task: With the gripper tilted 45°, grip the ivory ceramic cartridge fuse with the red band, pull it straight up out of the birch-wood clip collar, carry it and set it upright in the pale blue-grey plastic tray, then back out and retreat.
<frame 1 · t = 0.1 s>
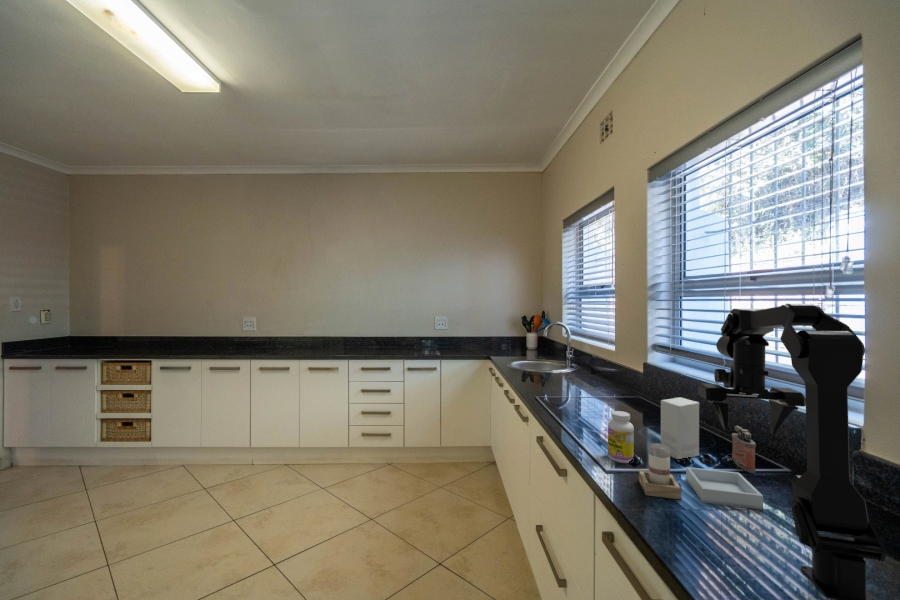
hand: (748, 431, 86), 15 cm above the worktop, tool pointing down, fingers open, 9 cm apart
skincare box: (679, 455, 109), on the worktop
lighter: (743, 467, 102), on the worktop
supplement bottle: (620, 459, 106), on the worktop
tray: (721, 493, 87), on the worktop
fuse: (659, 468, 89), in the holder
holder: (659, 489, 89), on the worktop
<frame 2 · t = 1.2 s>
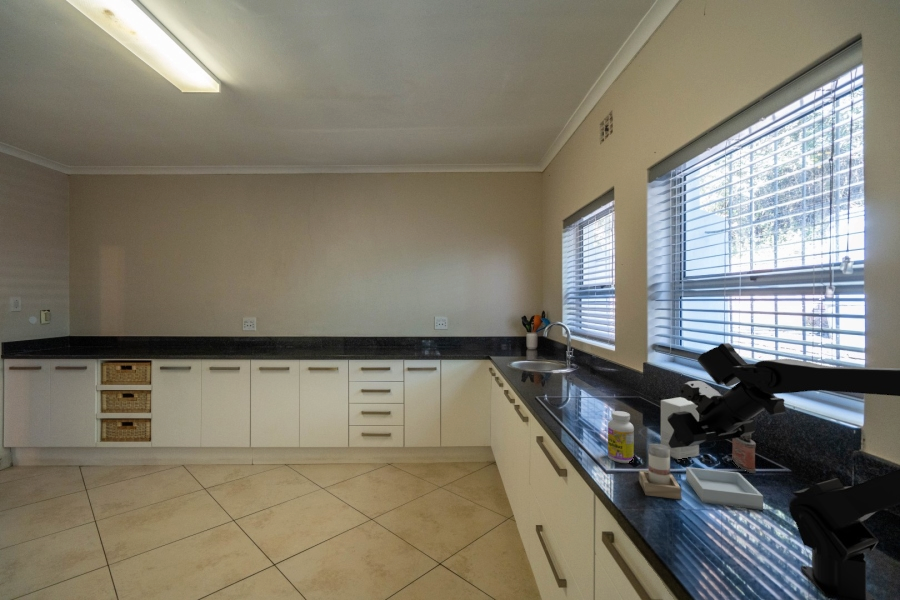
hand: (685, 443, 83), 13 cm above the worktop, tool tilted 45°, fingers open, 9 cm apart
nothing on the worktop moved.
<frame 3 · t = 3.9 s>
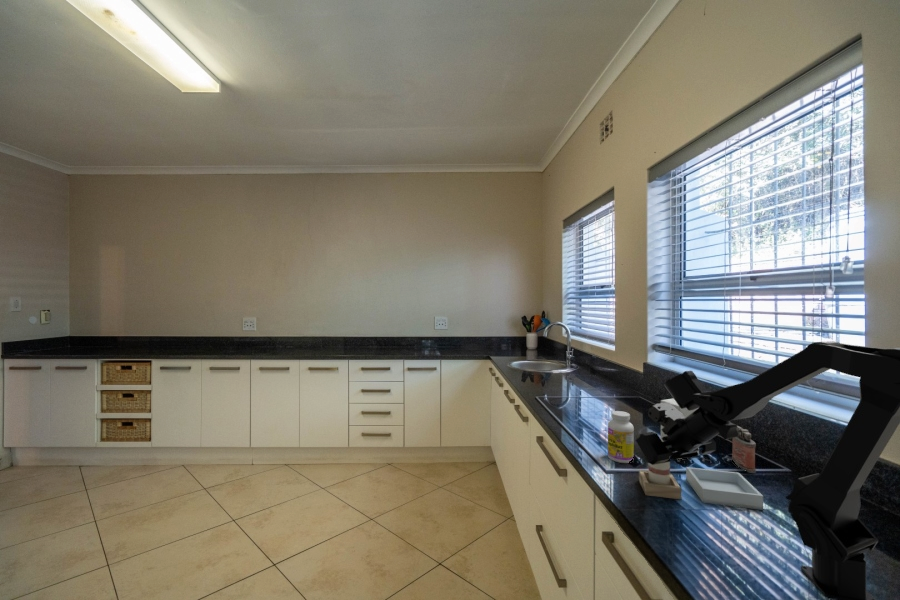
hand: (654, 459, 90), 7 cm above the worktop, tool tilted 45°, fingers closed on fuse, 4 cm apart
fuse: (659, 468, 89), in the holder, touching gripper
everything else where it was.
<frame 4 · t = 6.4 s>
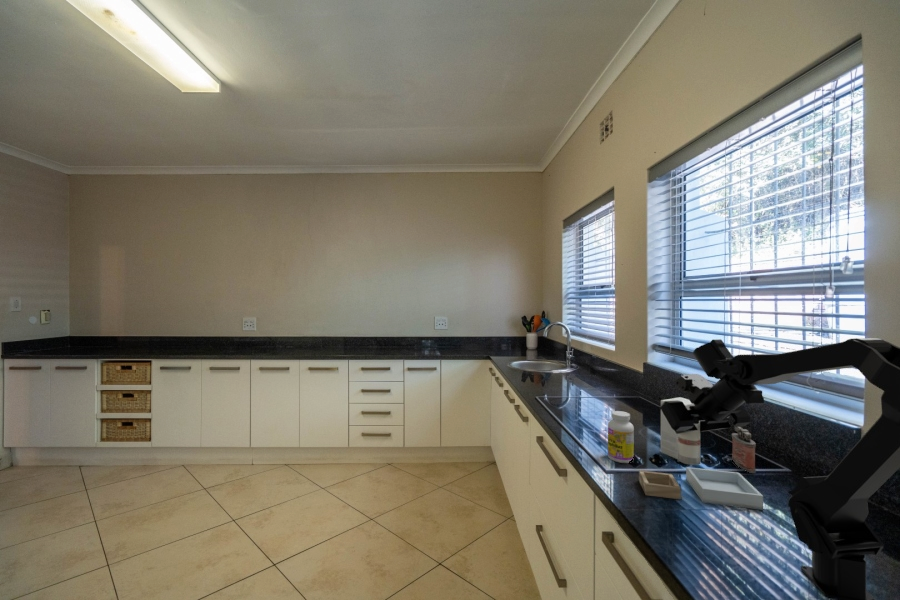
hand: (684, 431, 90), 13 cm above the worktop, tool tilted 45°, fingers closed on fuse, 4 cm apart
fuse: (689, 439, 89), point 12 cm above the worktop, touching gripper
everything else where it was.
when the fingers open (9 cm above the worktop, at t = 8.9 s): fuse drops 1 cm, resting on tray.
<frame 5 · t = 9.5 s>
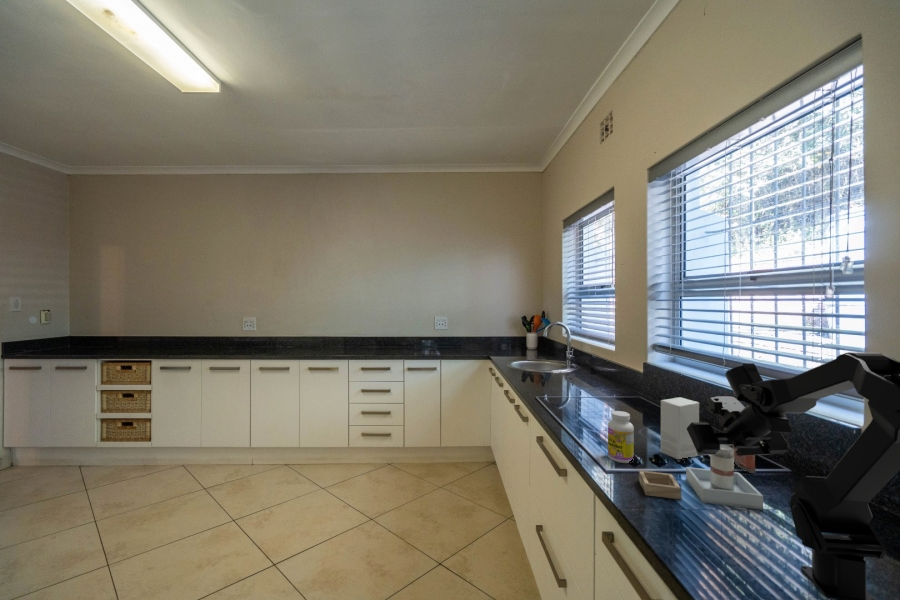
hand: (717, 453, 89), 9 cm above the worktop, tool tilted 45°, fingers open, 9 cm apart
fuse: (722, 469, 87), in the tray, point 6 cm above the worktop
everything else where it was.
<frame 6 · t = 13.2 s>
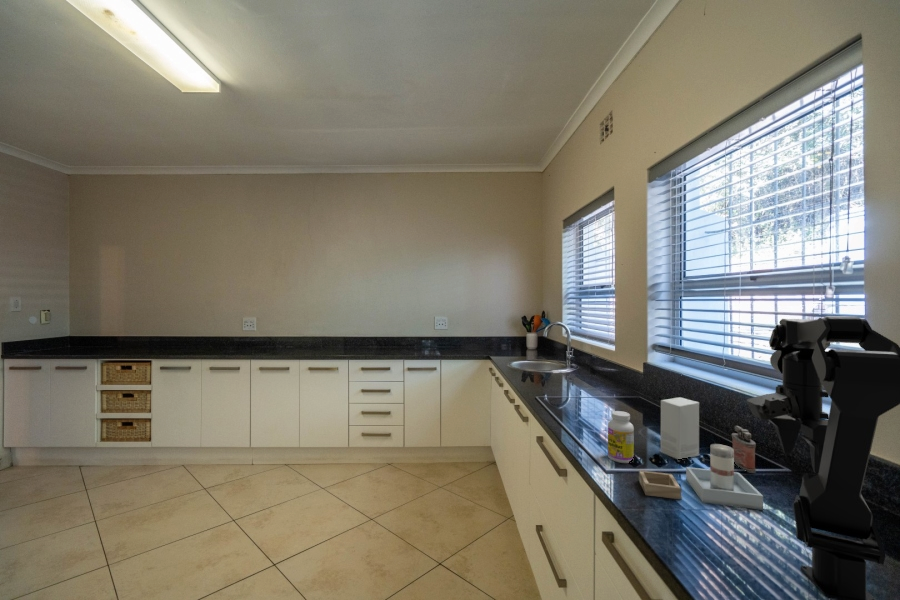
hand: (801, 462, 74), 13 cm above the worktop, tool pointing down, fingers open, 9 cm apart
nothing on the worktop moved.
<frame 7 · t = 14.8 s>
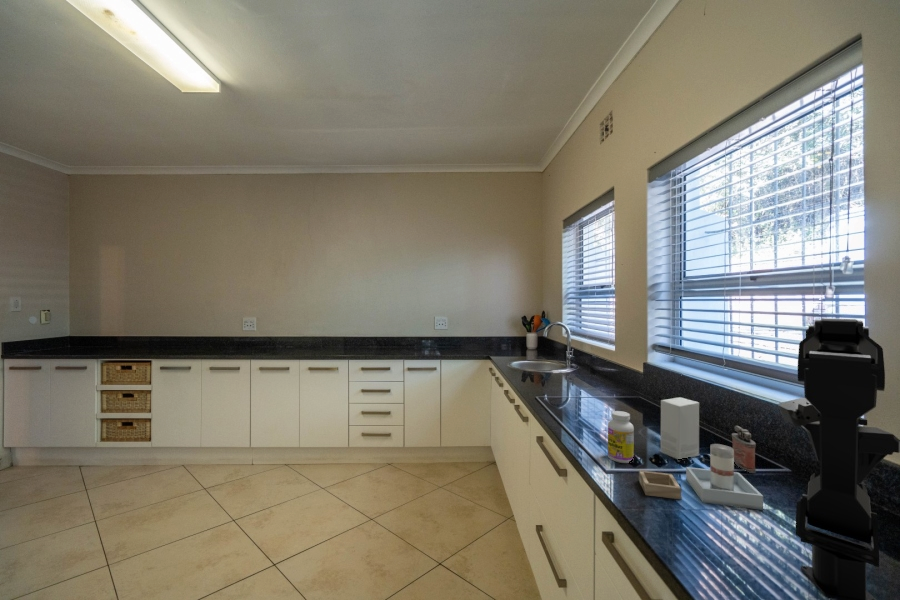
hand: (837, 470, 70), 13 cm above the worktop, tool pointing down, fingers open, 9 cm apart
nothing on the worktop moved.
at the end: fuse inside the target area on the tray (0.0 cm from its centre), point 5.6 cm above the tray's base; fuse tilted 0°; the gripper is holding nothing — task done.
